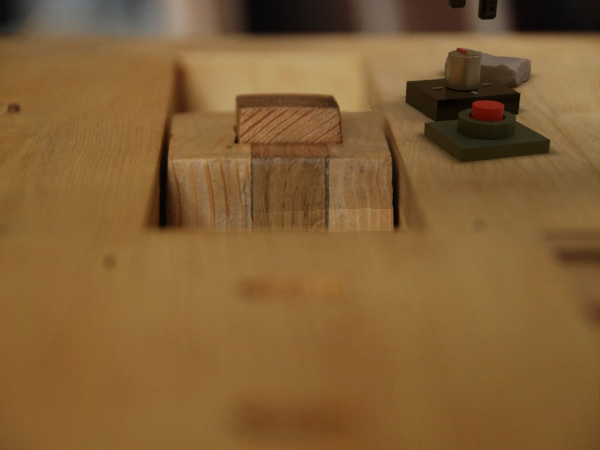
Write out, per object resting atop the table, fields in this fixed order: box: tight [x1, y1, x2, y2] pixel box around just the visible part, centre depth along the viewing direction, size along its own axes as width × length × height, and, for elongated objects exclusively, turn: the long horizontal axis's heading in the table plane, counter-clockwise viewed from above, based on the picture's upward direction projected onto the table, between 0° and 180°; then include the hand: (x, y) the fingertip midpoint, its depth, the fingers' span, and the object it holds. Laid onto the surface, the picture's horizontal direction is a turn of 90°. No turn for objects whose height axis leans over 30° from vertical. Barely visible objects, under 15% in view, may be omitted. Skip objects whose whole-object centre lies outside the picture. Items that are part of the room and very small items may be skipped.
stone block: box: [444, 47, 532, 89], centre depth 126 cm, size 12×5×10 cm
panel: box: [405, 75, 521, 122], centre depth 111 cm, size 12×10×3 cm
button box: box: [423, 109, 551, 163], centre depth 95 cm, size 11×10×4 cm
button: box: [471, 100, 504, 122], centre depth 94 cm, size 4×4×2 cm
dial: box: [445, 47, 482, 91], centre depth 109 cm, size 4×4×5 cm
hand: (471, 13), depth 106 cm, fingers open, 8 cm apart
